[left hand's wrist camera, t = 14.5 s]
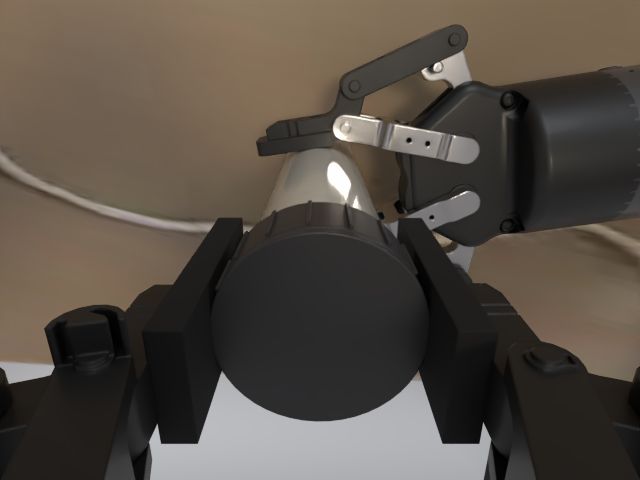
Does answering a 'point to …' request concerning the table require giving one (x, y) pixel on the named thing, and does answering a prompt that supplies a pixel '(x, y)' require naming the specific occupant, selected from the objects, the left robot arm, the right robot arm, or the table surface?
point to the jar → (320, 180)
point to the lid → (320, 313)
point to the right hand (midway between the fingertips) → (270, 195)
